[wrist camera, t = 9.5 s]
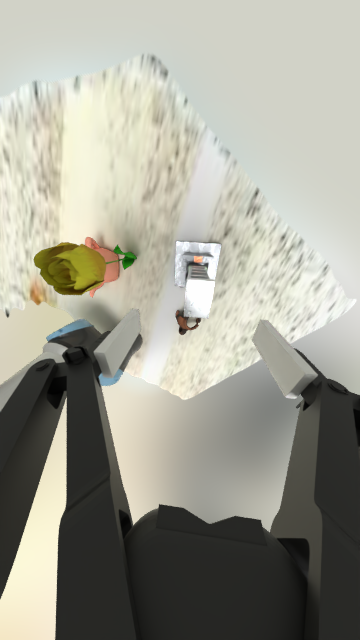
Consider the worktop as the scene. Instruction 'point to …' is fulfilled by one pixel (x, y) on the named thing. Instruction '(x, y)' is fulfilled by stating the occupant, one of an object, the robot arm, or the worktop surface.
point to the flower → (75, 267)
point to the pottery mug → (183, 322)
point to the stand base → (195, 259)
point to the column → (198, 292)
